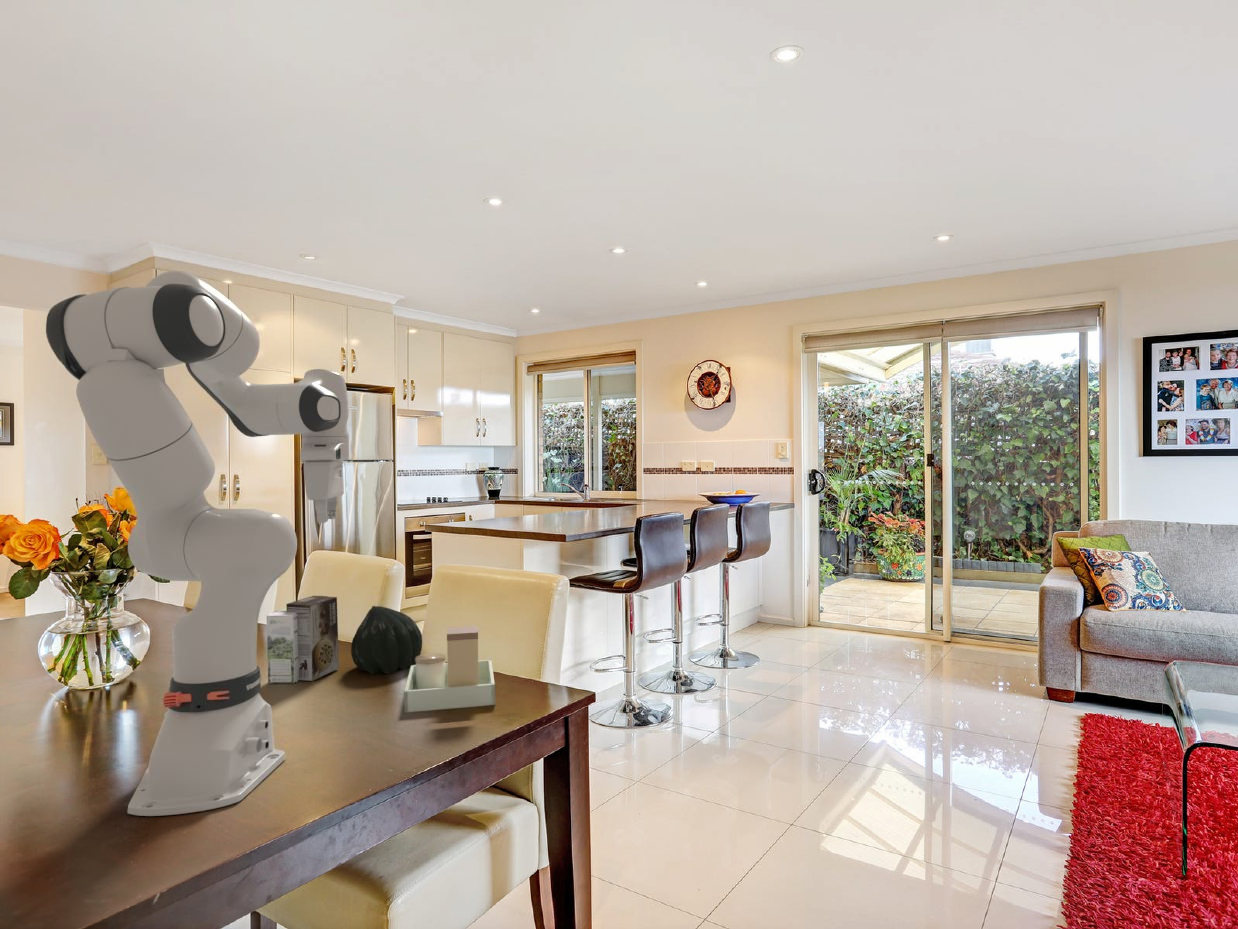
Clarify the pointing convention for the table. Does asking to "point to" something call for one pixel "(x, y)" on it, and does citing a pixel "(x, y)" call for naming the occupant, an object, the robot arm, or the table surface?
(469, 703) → the tray
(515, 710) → the table surface
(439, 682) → the jar
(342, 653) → the table surface
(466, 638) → the carton
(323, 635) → the coffee box
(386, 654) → the squash
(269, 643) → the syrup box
